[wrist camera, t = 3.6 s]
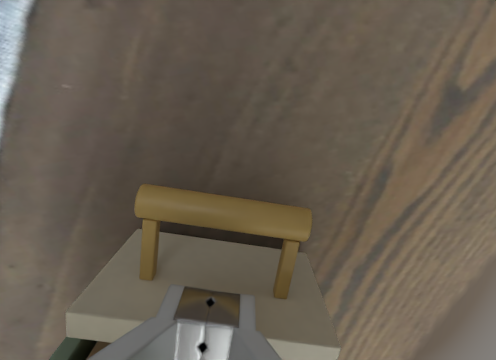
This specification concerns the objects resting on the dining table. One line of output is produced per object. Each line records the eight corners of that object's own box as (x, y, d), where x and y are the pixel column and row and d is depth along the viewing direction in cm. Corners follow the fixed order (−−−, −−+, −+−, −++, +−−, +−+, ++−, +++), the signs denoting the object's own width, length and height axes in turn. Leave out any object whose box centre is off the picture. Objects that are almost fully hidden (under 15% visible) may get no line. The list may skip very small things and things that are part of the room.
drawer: (140, 157, 15) (61, 200, 9) (323, 185, 16) (374, 245, 9) (129, 374, 20) (70, 509, 13) (272, 391, 20) (283, 531, 14)
